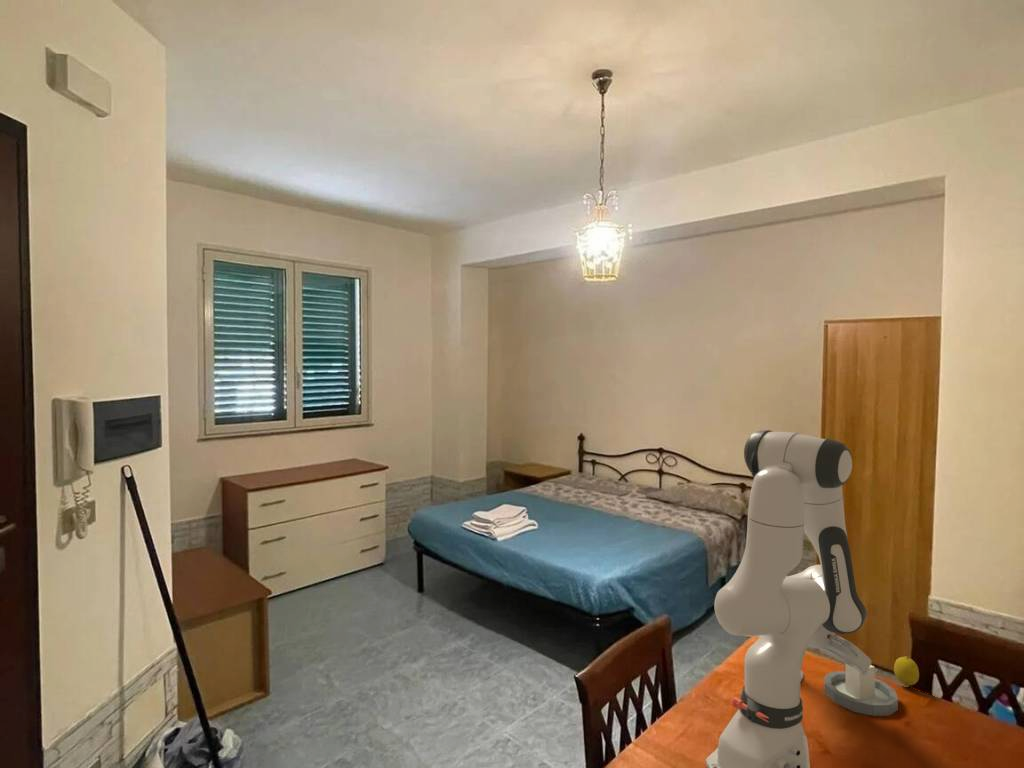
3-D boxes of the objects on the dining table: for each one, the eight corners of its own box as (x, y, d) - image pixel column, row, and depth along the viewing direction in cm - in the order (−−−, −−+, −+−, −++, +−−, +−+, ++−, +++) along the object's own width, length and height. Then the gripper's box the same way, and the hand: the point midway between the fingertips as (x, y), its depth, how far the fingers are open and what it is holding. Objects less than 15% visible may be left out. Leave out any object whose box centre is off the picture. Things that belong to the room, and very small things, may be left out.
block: (859, 700, 144) (859, 669, 144) (845, 690, 148) (845, 660, 148) (874, 697, 145) (874, 666, 145) (860, 688, 149) (860, 658, 149)
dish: (877, 723, 135) (877, 712, 135) (812, 691, 149) (812, 682, 149) (909, 702, 144) (909, 692, 144) (844, 674, 157) (844, 665, 157)
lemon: (910, 681, 154) (911, 652, 154) (923, 692, 148) (923, 662, 148) (889, 680, 154) (889, 651, 154) (901, 691, 149) (901, 661, 149)
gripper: (855, 634, 133) (891, 671, 135) (793, 606, 153) (825, 638, 155) (840, 656, 132) (877, 693, 134) (780, 624, 152) (812, 657, 153)
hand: (849, 663), depth 144 cm, fingers open, 8 cm apart
